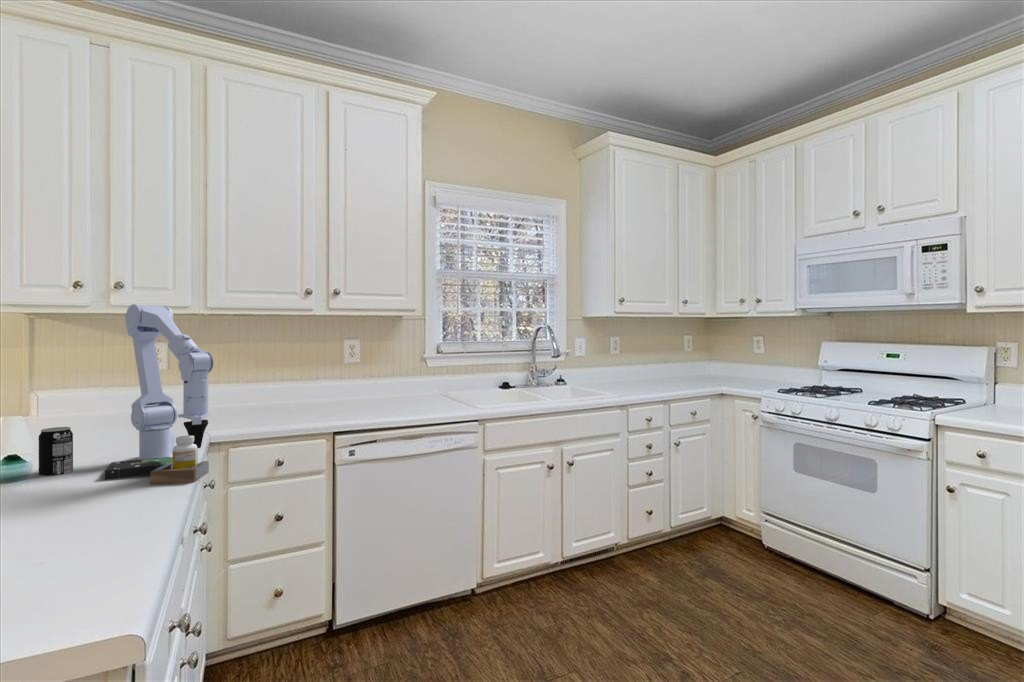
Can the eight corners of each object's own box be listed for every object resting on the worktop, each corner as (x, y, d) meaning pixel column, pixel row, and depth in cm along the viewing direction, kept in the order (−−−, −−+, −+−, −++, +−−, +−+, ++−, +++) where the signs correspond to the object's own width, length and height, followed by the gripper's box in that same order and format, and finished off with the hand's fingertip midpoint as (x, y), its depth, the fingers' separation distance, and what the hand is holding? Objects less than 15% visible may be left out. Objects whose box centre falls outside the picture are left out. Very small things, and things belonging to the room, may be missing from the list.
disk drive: (104, 482, 129) (176, 473, 136) (104, 470, 129) (176, 462, 136) (110, 472, 138) (178, 465, 145) (110, 462, 138) (178, 454, 145)
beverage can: (45, 474, 136) (44, 427, 136) (76, 471, 138) (76, 425, 138) (33, 480, 130) (33, 431, 130) (67, 477, 132) (67, 429, 132)
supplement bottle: (180, 472, 137) (179, 435, 137) (201, 471, 138) (201, 434, 138) (168, 478, 132) (167, 439, 132) (190, 477, 132) (190, 438, 132)
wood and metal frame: (168, 474, 135) (168, 462, 135) (208, 472, 137) (208, 460, 137) (150, 484, 126) (150, 471, 126) (194, 482, 128) (194, 469, 128)
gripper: (178, 395, 145) (178, 444, 145) (178, 400, 133) (178, 454, 133) (207, 394, 149) (207, 442, 149) (210, 399, 137) (210, 451, 137)
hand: (195, 448), depth 141 cm, fingers closed
